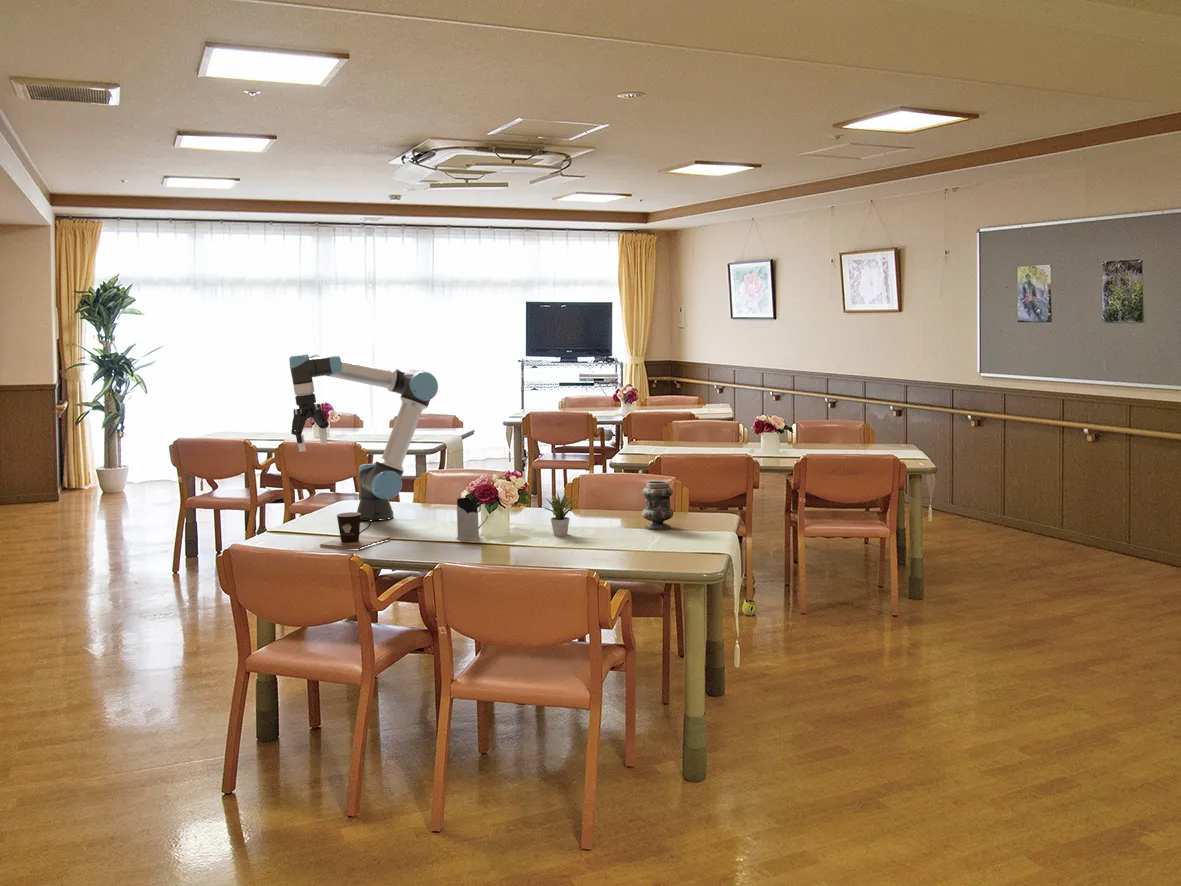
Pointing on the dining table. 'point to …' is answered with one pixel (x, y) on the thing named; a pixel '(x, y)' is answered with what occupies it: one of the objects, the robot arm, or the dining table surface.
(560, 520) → the house plant
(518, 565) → the dining table surface
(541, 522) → the dining table surface
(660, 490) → the apothecary jar
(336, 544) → the spiral notebook
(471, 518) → the gray pitcher
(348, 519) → the coffee mug
